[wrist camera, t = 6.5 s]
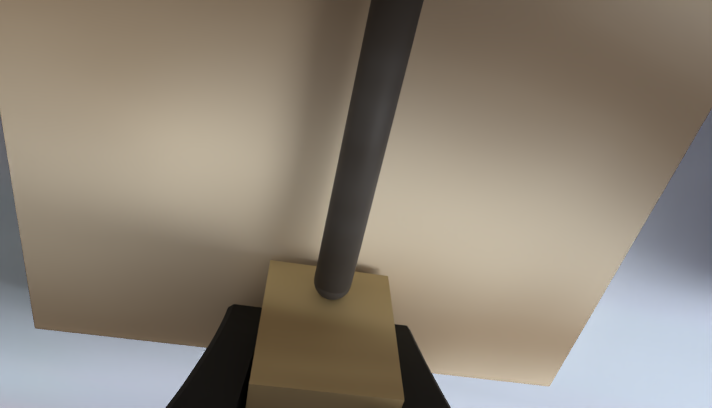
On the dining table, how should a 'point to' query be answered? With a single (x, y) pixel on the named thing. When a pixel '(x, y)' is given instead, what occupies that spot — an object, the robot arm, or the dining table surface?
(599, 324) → the dining table surface
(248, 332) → the robot arm
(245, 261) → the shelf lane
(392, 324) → the block with dark rod
